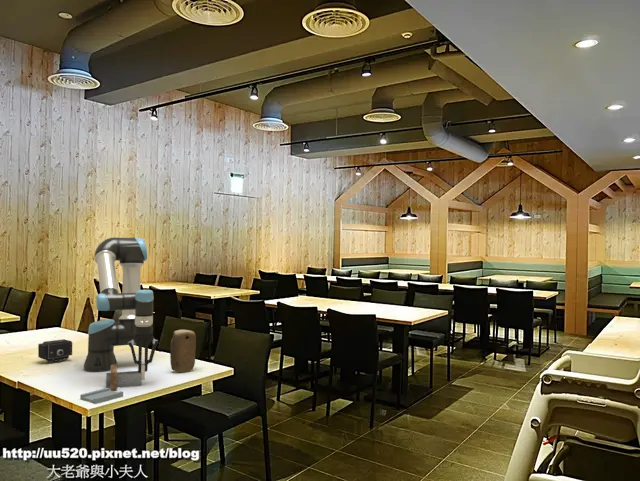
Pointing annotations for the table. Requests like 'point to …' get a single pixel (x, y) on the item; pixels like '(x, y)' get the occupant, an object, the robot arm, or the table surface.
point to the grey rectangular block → (125, 379)
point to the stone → (183, 350)
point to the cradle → (100, 395)
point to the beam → (113, 378)
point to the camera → (55, 350)
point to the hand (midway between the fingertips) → (142, 379)
